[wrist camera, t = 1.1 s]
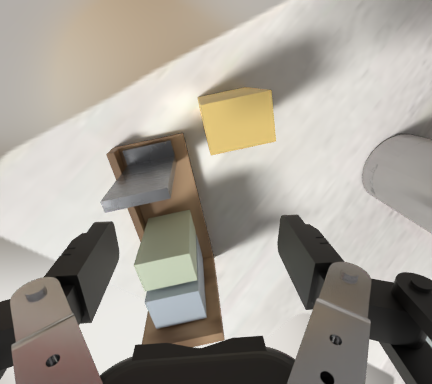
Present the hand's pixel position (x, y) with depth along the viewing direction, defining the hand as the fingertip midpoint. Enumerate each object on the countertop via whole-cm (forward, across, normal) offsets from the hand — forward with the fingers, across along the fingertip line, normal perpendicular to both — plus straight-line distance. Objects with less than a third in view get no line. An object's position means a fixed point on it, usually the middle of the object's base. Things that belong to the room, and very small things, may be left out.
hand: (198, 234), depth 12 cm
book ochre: (+20, -3, -4) cm, 20 cm away
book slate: (+18, +3, +15) cm, 24 cm away
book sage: (+18, +4, +11) cm, 22 cm away
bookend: (+18, +5, +2) cm, 19 cm away
